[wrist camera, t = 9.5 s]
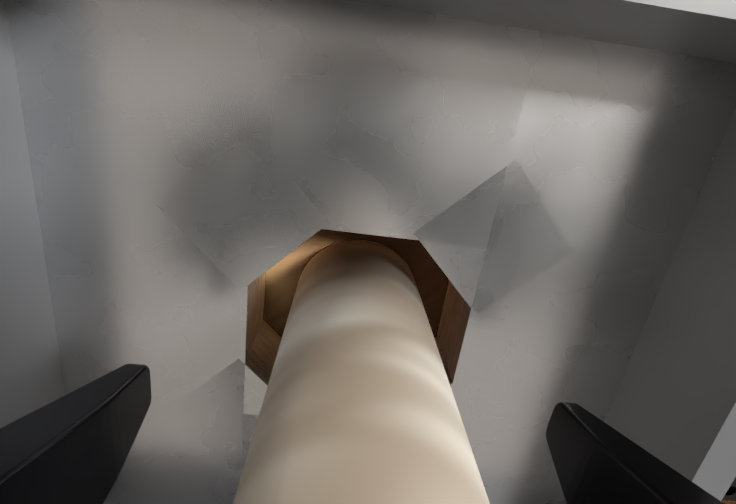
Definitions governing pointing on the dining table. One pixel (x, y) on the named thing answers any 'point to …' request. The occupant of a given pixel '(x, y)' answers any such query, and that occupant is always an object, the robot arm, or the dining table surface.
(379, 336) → the peg
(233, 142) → the bore plate
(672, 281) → the open box
